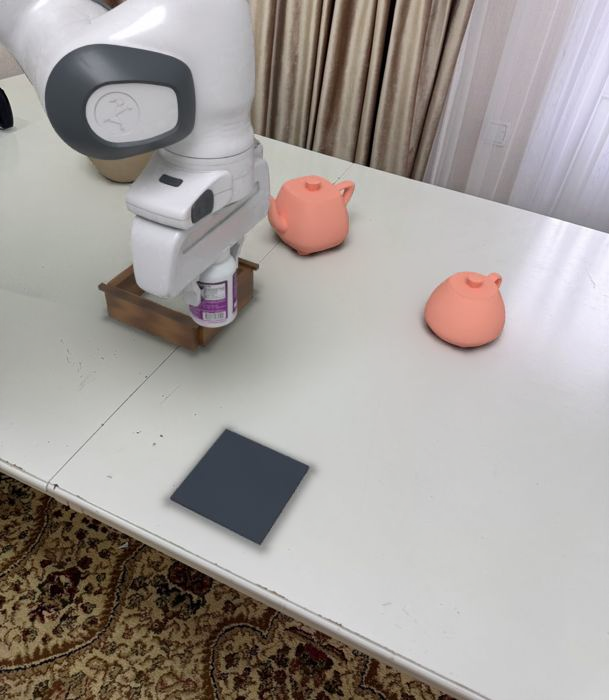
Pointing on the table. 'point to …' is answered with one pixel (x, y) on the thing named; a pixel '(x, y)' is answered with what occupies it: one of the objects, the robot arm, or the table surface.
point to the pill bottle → (217, 293)
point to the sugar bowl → (467, 309)
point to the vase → (123, 167)
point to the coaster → (241, 485)
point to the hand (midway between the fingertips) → (211, 285)
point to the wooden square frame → (162, 319)
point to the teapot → (311, 213)
